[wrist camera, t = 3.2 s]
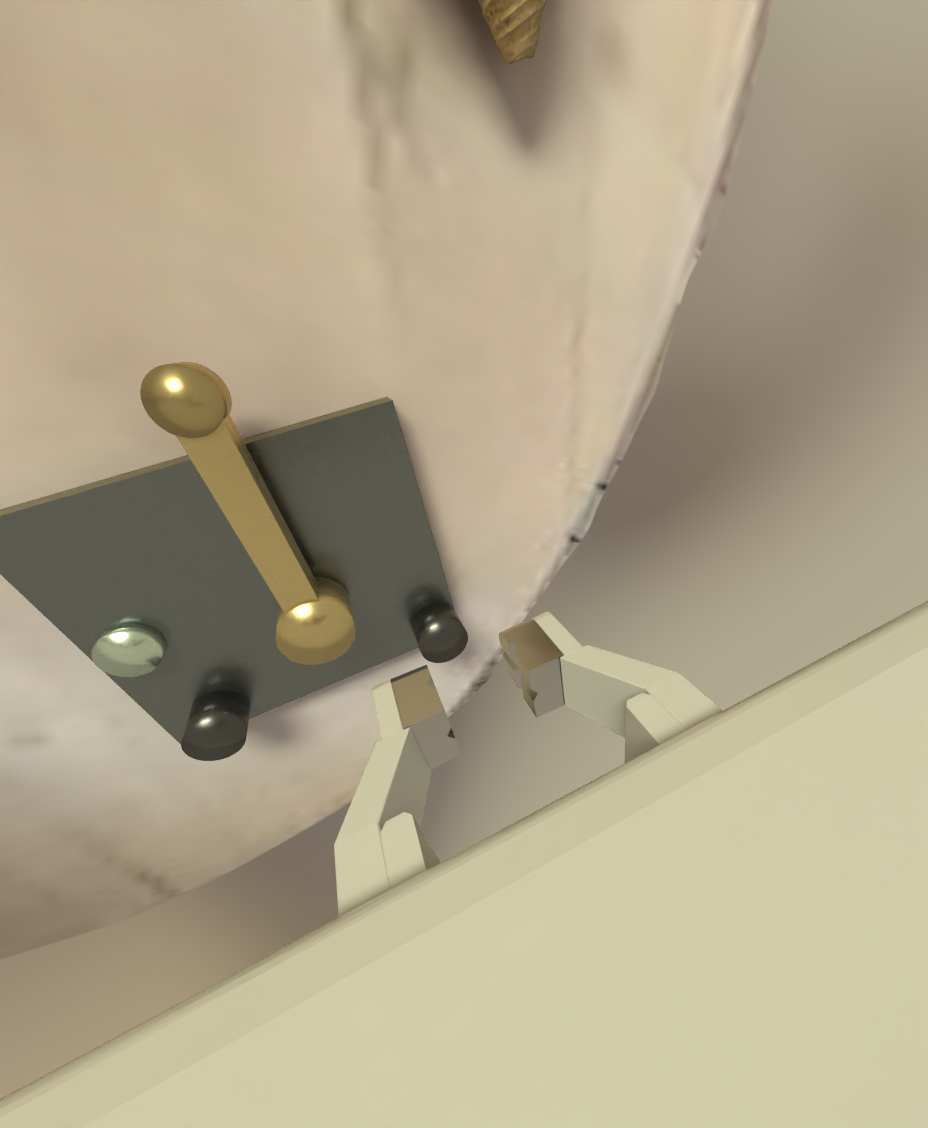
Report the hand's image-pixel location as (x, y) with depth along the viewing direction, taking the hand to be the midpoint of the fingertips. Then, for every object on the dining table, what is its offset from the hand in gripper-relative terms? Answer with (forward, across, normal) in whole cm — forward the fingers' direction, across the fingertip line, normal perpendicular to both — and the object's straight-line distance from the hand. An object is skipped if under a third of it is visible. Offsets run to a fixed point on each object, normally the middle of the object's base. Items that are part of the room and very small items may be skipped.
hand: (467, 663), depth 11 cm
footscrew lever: (+19, +7, +1) cm, 20 cm away
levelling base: (+21, +9, +6) cm, 24 cm away
